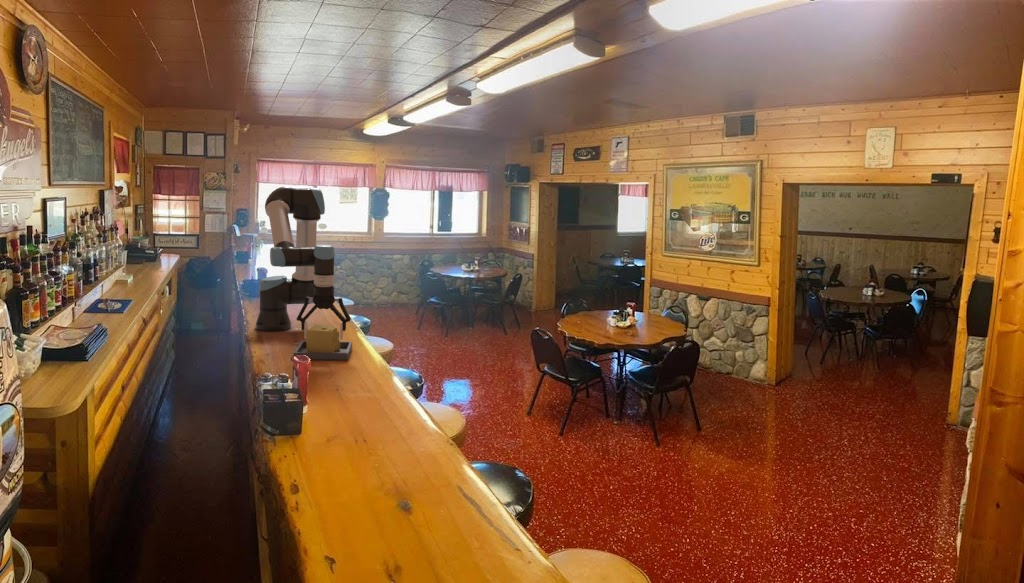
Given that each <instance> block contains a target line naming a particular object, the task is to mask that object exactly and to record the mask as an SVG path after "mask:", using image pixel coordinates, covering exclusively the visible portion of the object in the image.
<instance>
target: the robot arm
mask: <svg viewBox="0 0 1024 583" xmlns="http://www.w3.org/2000/svg"><path fill="white" fill-rule="evenodd" d="M324 198H325V197H324V194H323V191H322V190H321V188H318V187H312V186H286V185H285V186H281V187H278V188H276V189H275V190H273V191H272V192H271V193H270V194H268V196H267V198H266V200H265V204H264V209H265V214H266V215H267V217H268V219H269V225H270V230H271V231H270V232H271V236H272V237H271V238H272V242H273V247H271V248H270V249H269V261H270V265H271V266H272V267H281V268H285V267H286V268H289V267H291V268H292V267H295V272H293V273H292V274H291V278H288V277H287V276H286V275H274V276H268V277H264V278H262V279H260V280H259V286H258V287H259V288H258V292H259V293H258V294H259V313H258V316H257V318H256V321H255V329H256V330H259V331H261V332H263V331H264V332H280V331H286V330H290V329H291V328H292V322H291V319H290V315H289V313H288V305H303V306H302V308H301V310H300V312H299V314H298V315H297V317H296V321H298V322H300V323H301V331H304V332H303V333H304V335H303V339H304V340H307V330H308V321H307V319H308V318H309V317H310V316H311V315H312V314H313V313H314V312H315V311H316V310H317V309H319V310H329V309H330V310H331V311H332V312H333V314H335V316H336V317H337V318H338V319H339V320H340V330H339V334H340V336H339V341H342V340H343V339H344V332H345V331H346V329H347V323H348V322H351V320H352V318H351V316H350V314H349V312H348V310H347V308H346V306H345V304H344V300H343V297H335V286H334V285H335V256H336V254H335V248H334V246H333V245H330V244H317V228H318V222H319V221H320V220H321V217H322V215H324V214H325V212H326V206H325V205H326V204H325V199H324ZM289 214H292V218H293V219H294V220H295V221H296V231H295V233H296V236H295V238H296V239H295V240H296V241H294V238H293V232H292V228H291V222H290V219H289ZM294 242H295V244H294ZM335 302H336V303H337V304H338V305H339V308H340V309H341V311H342V313H341V312H340V310H338V309H337V307H336V305H334V304H335ZM312 304H314V306H312V308H310V310H309V311H308V312H307V313H306V314H305V315H304V313H305V311H306V309H307V308H308V305H312ZM303 315H304V316H303ZM343 315H344V316H343Z"/></svg>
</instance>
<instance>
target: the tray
mask: <svg viewBox="0 0 1024 583" xmlns="http://www.w3.org/2000/svg"><path fill="white" fill-rule="evenodd" d="M352 350H353V341H340V350H338V351H337V352H307V340H302V341H300V343H299V344H298V345H297V347H296V348H295V350H294V352H293V353H292V354H293V356H296V355H306V356H308V357H309V358H310V359H311V360H313V361H319V362H321V361H323V362H324V361H325V362H327V361H330V362H333V361H334V362H339V361H340V362H341V361H342V362H344V361H346V362H348V361H349V359H350V356H351V353H352Z"/></svg>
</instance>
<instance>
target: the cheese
mask: <svg viewBox="0 0 1024 583" xmlns="http://www.w3.org/2000/svg"><path fill="white" fill-rule="evenodd" d="M306 341H307V352H337V351H338V350H340V342H341V340H340V330H338V328H337V327H334V326H332V325H328V324H320V323H318V324H316V323H315V324H314V325H313V326H311V327H310V328H309V329H307V339H306Z"/></svg>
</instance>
